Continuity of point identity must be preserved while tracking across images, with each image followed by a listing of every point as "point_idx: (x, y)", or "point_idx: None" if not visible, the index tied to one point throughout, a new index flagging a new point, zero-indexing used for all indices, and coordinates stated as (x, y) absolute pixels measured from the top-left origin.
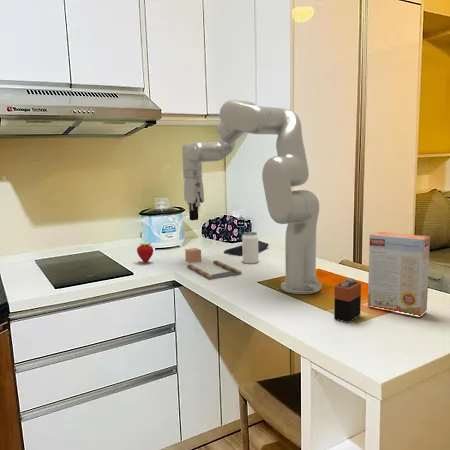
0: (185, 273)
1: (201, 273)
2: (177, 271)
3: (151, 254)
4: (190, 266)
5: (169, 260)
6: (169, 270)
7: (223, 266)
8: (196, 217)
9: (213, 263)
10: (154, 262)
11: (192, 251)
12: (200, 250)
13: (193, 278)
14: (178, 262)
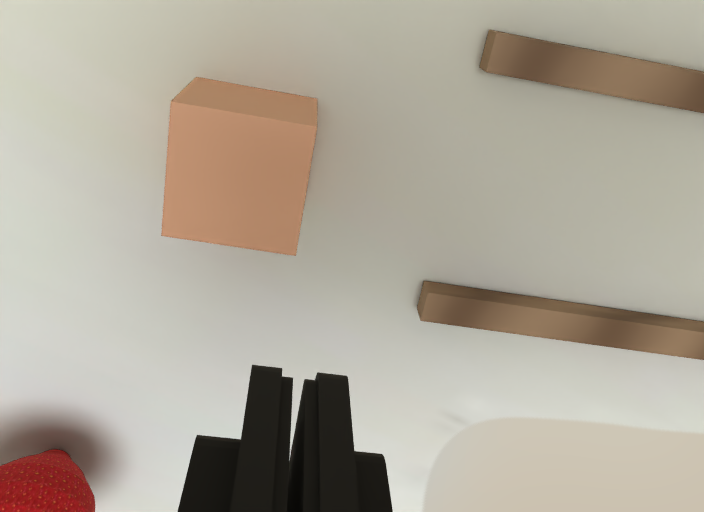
0: (534, 388)
1: (680, 352)
2: (447, 401)
3: (87, 490)
4: (484, 327)
5: (80, 289)
6: (381, 425)
7: (686, 108)
8: (378, 466)
9: (481, 67)
10: (74, 401)
11: (300, 226)
12: (315, 131)
13: (671, 408)
14: (202, 269)
